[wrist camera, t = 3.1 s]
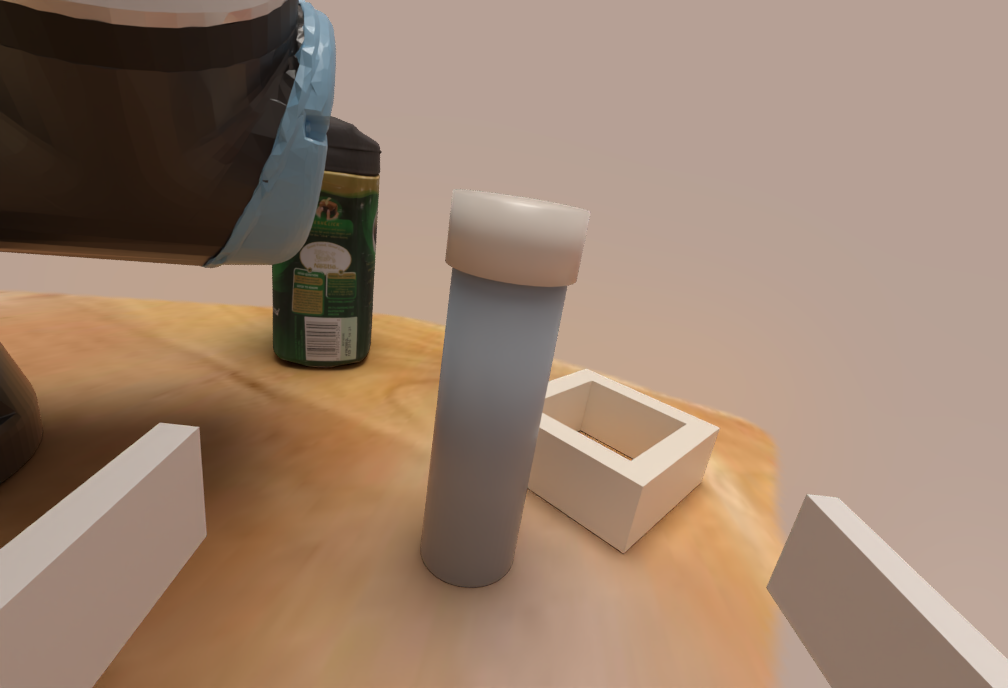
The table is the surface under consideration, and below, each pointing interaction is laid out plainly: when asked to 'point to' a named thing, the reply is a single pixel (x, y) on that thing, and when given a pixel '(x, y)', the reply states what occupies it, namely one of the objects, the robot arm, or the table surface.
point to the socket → (616, 456)
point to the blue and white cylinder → (494, 375)
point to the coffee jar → (333, 261)
